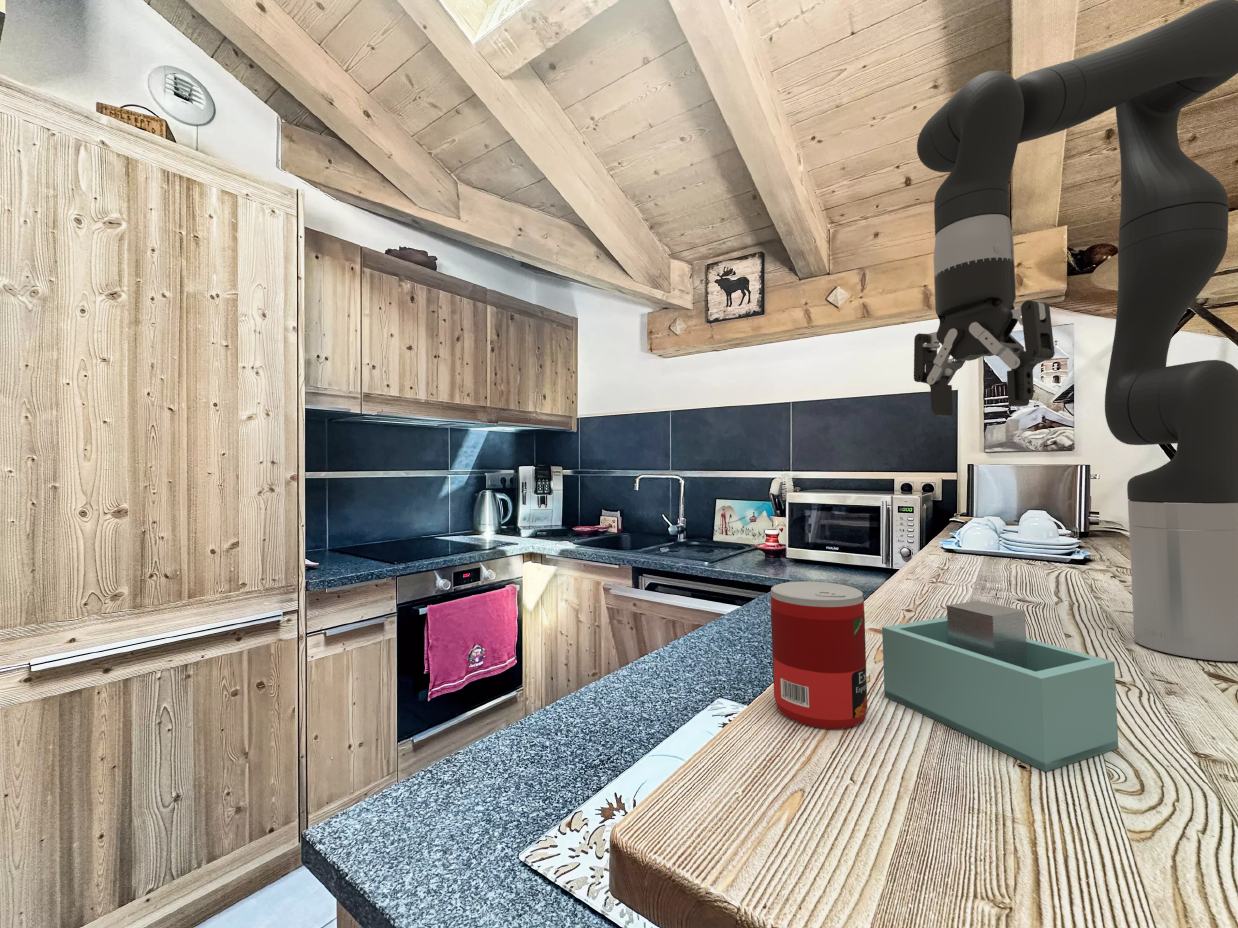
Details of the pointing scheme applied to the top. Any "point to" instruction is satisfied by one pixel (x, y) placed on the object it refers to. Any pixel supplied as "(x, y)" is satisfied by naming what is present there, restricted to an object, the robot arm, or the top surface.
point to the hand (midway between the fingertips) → (978, 411)
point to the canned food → (819, 653)
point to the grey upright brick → (989, 631)
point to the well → (1005, 694)
